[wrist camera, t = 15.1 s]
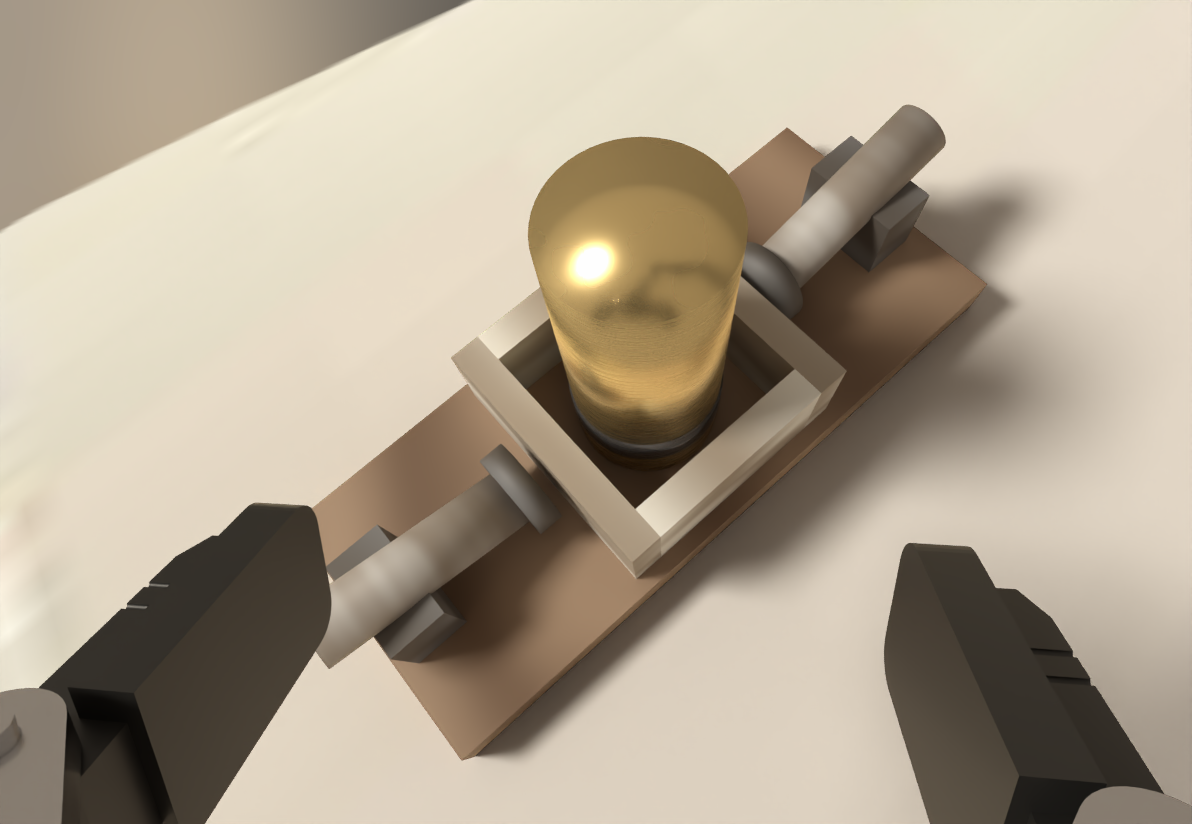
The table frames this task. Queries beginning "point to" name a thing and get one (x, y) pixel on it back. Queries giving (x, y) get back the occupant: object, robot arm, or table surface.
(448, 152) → the table surface
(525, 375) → the shaft rig
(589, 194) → the ball
